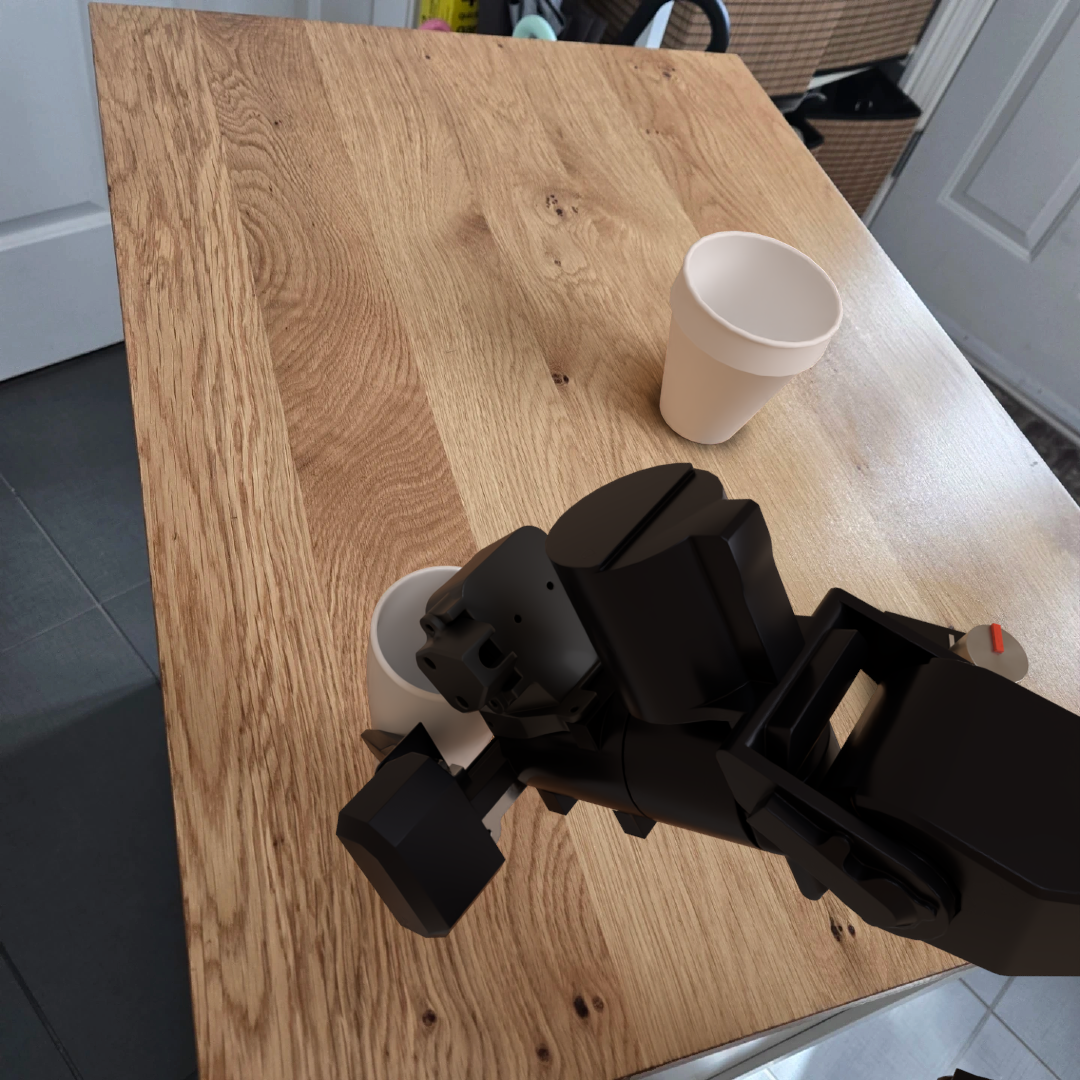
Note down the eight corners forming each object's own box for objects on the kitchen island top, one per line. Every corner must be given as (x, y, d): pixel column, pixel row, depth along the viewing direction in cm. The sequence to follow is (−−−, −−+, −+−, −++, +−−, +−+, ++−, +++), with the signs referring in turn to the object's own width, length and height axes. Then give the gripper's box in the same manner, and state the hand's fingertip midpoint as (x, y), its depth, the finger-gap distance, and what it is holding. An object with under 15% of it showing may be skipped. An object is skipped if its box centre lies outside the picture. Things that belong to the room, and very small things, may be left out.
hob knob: (988, 723, 66) (1036, 688, 62) (928, 706, 66) (972, 671, 62) (981, 668, 69) (1027, 631, 65) (924, 652, 69) (966, 614, 64)
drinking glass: (335, 794, 51) (336, 657, 39) (397, 692, 55) (416, 538, 43) (450, 853, 50) (488, 730, 38) (504, 744, 54) (554, 603, 42)
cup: (666, 338, 84) (723, 207, 74) (789, 408, 83) (866, 284, 72) (601, 417, 77) (654, 284, 66) (734, 496, 75) (811, 373, 65)
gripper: (722, 423, 37) (464, 448, 49) (398, 763, 27) (164, 694, 38) (807, 645, 42) (553, 621, 53) (558, 1011, 31) (307, 884, 43)
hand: (415, 691), depth 47 cm, fingers closed on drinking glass, 6 cm apart
